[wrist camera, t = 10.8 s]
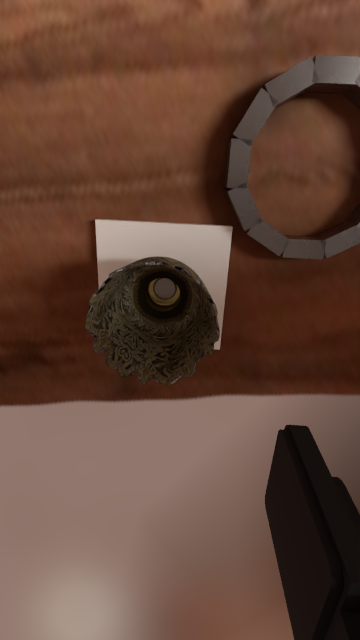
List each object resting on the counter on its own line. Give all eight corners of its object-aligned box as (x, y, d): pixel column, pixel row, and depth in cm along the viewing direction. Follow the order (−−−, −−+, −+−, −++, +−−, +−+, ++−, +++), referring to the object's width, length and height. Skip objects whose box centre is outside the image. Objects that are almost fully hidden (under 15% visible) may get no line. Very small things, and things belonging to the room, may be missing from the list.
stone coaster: (231, 225, 24) (232, 226, 23) (219, 345, 28) (219, 349, 27) (98, 218, 24) (95, 219, 23) (104, 338, 28) (101, 342, 27)
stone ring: (420, 72, 20) (443, 60, 18) (370, 257, 25) (385, 262, 23) (235, 64, 20) (239, 51, 18) (218, 249, 25) (220, 254, 23)
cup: (168, 348, 27) (157, 407, 20) (99, 290, 25) (59, 332, 18) (232, 286, 25) (247, 327, 17) (160, 218, 23) (144, 232, 16)
